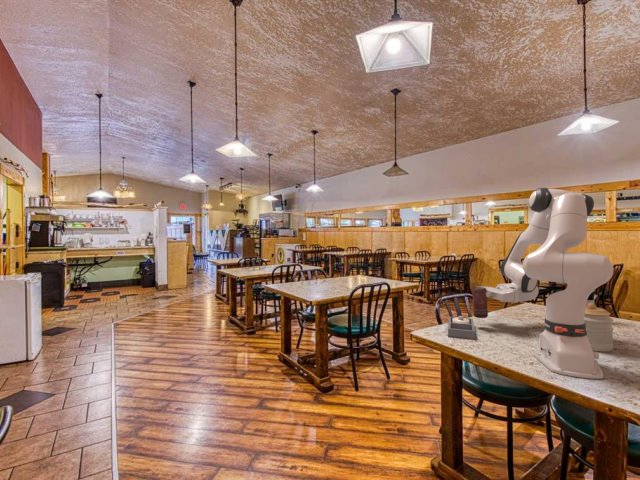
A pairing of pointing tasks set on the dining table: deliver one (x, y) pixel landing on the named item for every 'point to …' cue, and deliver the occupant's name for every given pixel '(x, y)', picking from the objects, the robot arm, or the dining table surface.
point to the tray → (461, 329)
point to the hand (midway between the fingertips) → (479, 294)
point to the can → (480, 302)
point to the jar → (599, 328)
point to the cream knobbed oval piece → (460, 320)
